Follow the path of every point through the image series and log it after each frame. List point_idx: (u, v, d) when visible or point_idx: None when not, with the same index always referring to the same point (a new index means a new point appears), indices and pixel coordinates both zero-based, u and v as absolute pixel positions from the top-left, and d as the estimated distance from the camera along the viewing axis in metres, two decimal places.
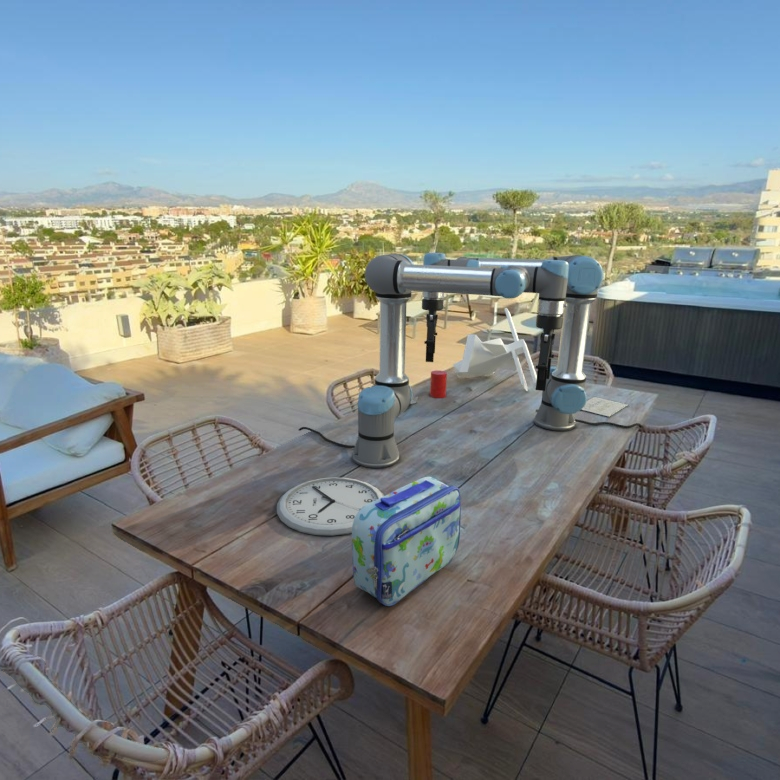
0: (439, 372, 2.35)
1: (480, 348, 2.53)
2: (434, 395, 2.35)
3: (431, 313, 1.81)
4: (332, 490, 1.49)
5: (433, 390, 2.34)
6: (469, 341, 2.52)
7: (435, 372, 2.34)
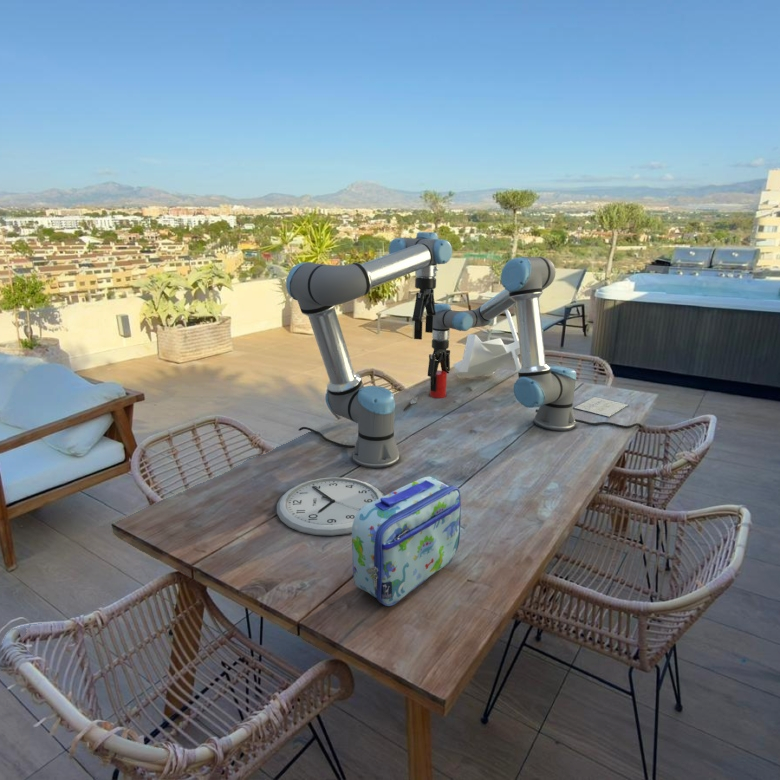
0: (439, 372, 2.35)
1: (480, 348, 2.53)
2: (434, 395, 2.35)
3: (435, 351, 2.29)
4: (332, 490, 1.49)
5: None
6: (469, 341, 2.52)
7: None
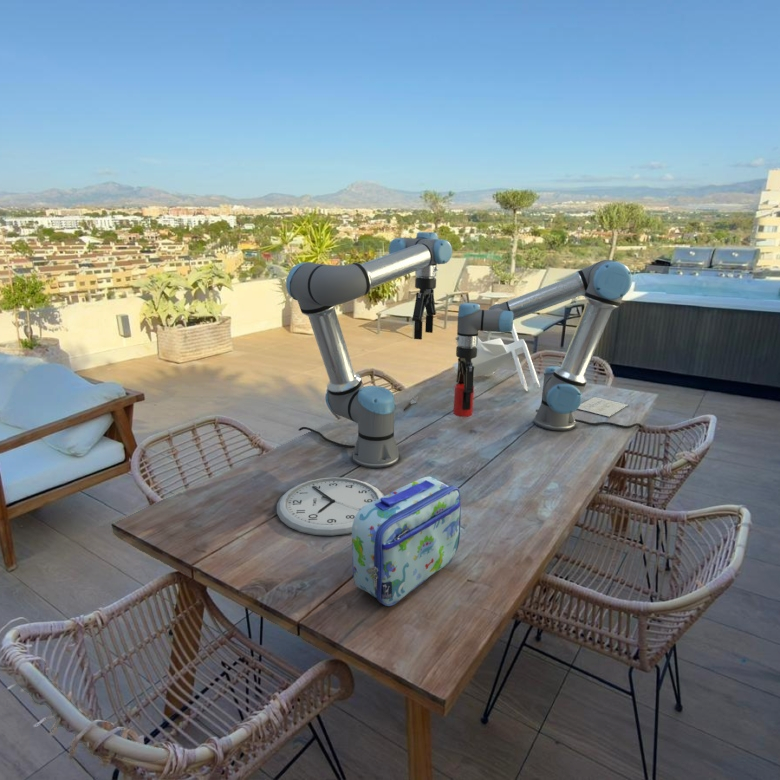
0: None
1: (480, 348, 2.53)
2: (466, 414, 1.94)
3: (468, 361, 1.88)
4: (332, 490, 1.49)
5: None
6: None
7: (461, 387, 1.94)
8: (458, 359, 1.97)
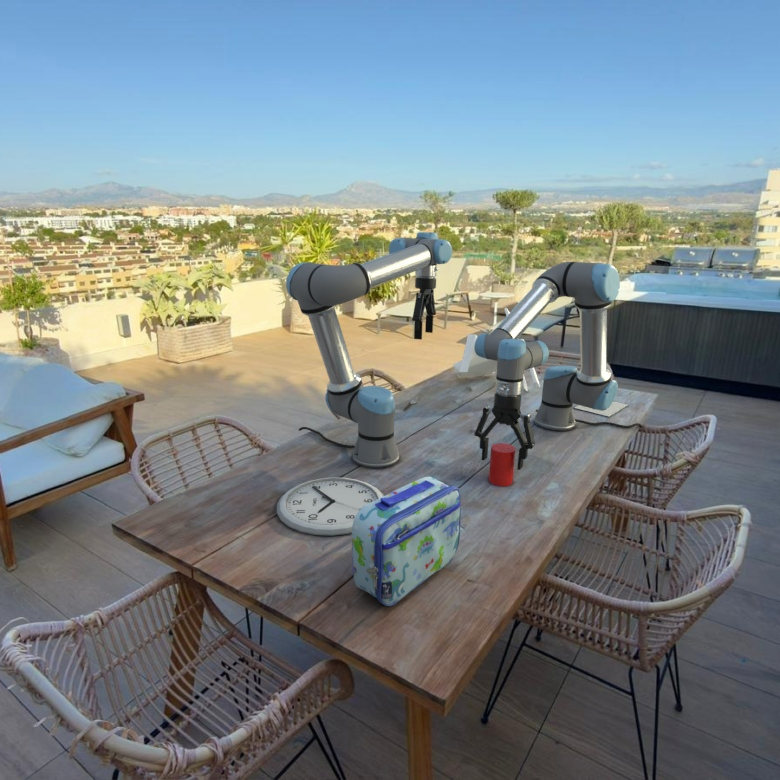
0: (502, 447, 1.55)
1: None
2: (512, 480, 1.57)
3: (518, 411, 1.50)
4: (332, 490, 1.49)
5: (512, 474, 1.55)
6: (469, 341, 2.52)
7: (505, 449, 1.54)
8: (485, 409, 1.54)
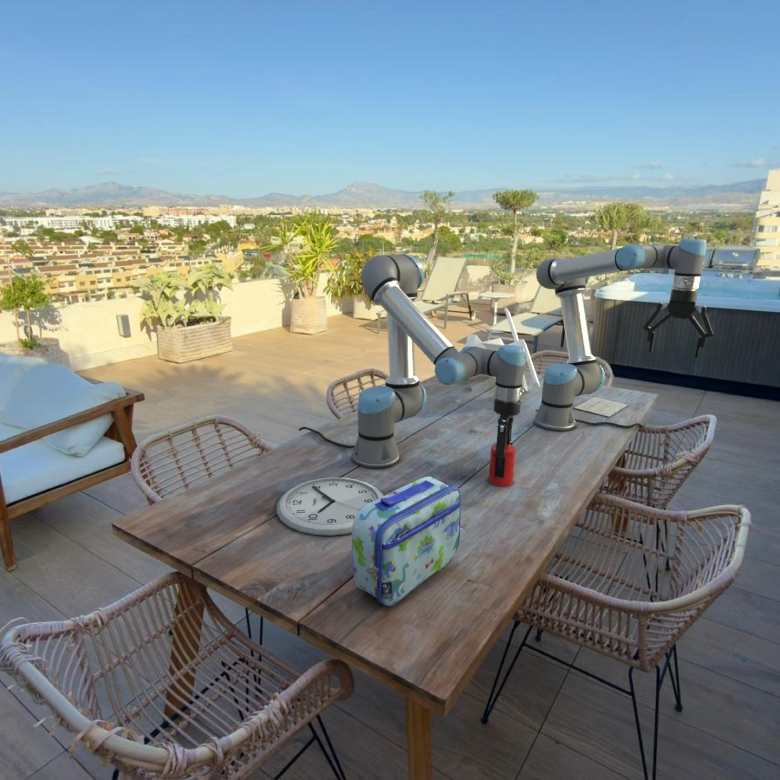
0: None
1: None
2: (512, 480, 1.57)
3: None
4: (332, 490, 1.49)
5: (512, 474, 1.55)
6: (469, 341, 2.52)
7: None
8: (660, 305, 1.71)
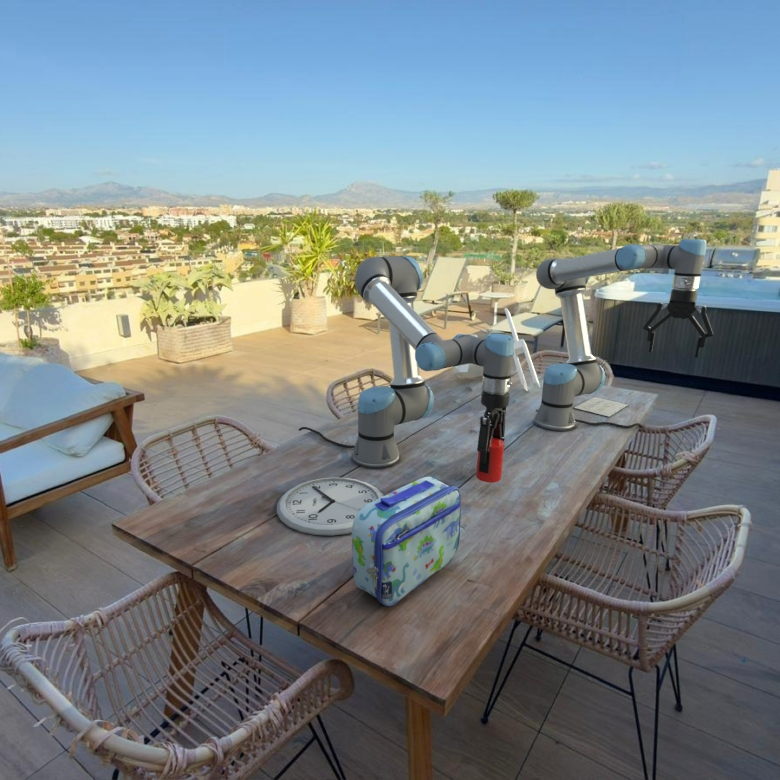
0: (491, 441, 1.48)
1: None
2: (500, 477, 1.49)
3: None
4: (332, 490, 1.49)
5: (499, 471, 1.48)
6: None
7: (492, 444, 1.46)
8: (660, 305, 1.71)
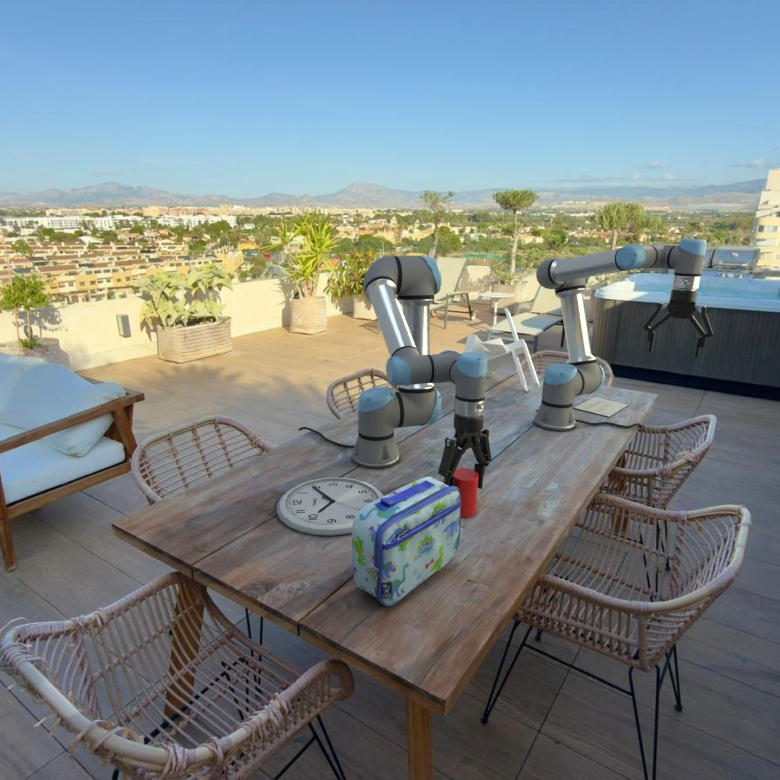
0: (464, 473, 1.38)
1: (480, 348, 2.53)
2: (471, 513, 1.38)
3: None
4: (332, 490, 1.49)
5: (469, 506, 1.37)
6: (469, 341, 2.52)
7: (463, 476, 1.37)
8: (660, 305, 1.71)
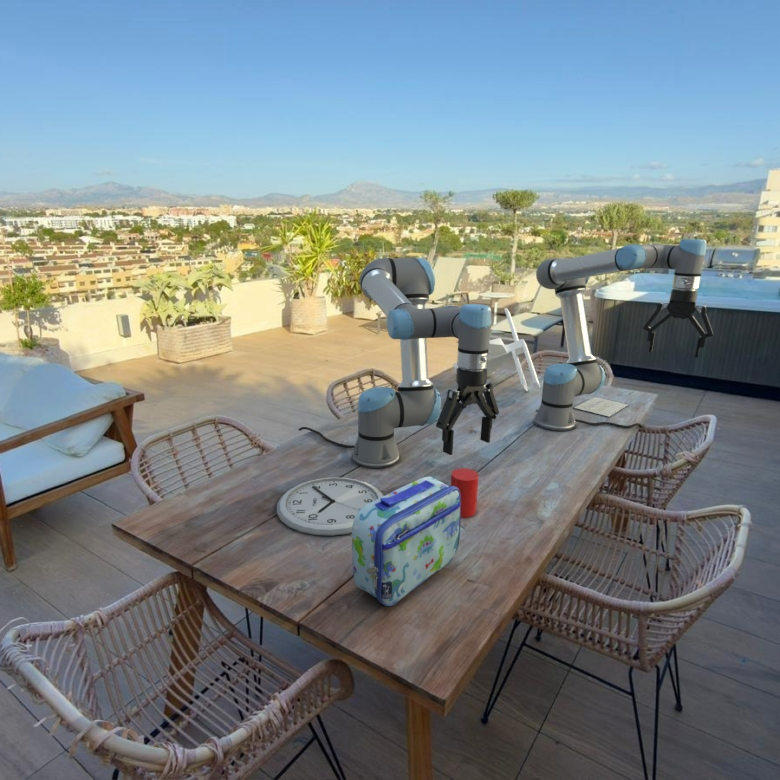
0: (464, 473, 1.38)
1: None
2: (471, 513, 1.38)
3: None
4: (332, 490, 1.49)
5: (469, 506, 1.37)
6: None
7: (463, 476, 1.37)
8: (660, 305, 1.71)
